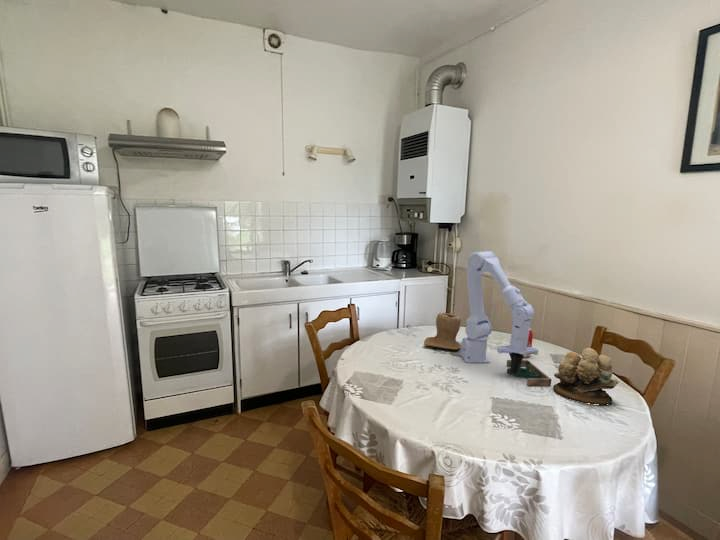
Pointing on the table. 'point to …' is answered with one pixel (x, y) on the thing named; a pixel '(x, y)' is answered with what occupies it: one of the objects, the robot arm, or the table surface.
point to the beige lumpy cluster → (585, 377)
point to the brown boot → (445, 332)
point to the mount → (524, 372)
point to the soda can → (529, 342)
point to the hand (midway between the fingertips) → (514, 371)
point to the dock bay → (540, 381)
